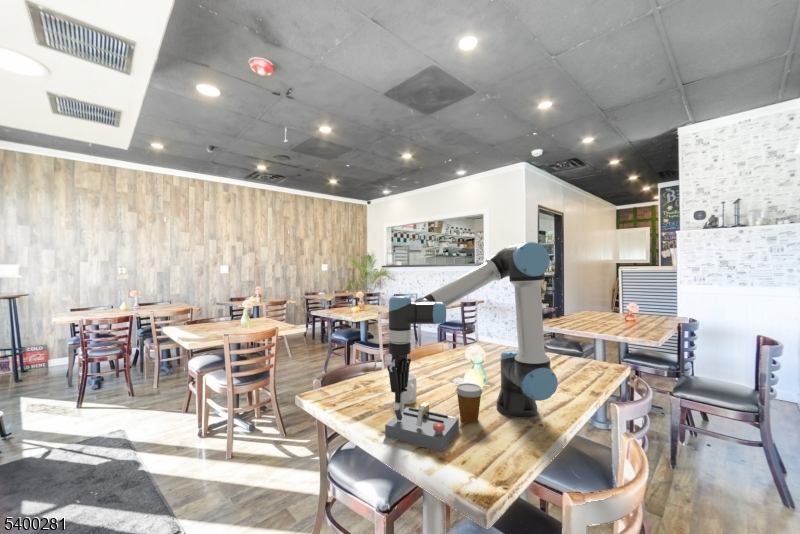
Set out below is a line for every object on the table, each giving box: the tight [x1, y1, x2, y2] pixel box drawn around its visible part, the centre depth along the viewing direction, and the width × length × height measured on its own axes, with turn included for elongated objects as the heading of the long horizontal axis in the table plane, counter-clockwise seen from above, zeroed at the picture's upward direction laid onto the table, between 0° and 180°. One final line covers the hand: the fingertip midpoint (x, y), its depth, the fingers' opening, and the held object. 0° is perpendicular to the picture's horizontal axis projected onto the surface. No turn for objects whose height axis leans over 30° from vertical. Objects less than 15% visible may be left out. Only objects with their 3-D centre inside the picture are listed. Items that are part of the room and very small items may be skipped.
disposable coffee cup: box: [455, 382, 483, 425], centre depth 122 cm, size 10×10×12 cm
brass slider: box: [421, 402, 430, 416], centre depth 117 cm, size 2×3×4 cm, turn 152°
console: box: [384, 406, 460, 453], centre depth 113 cm, size 20×16×5 cm
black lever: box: [392, 402, 402, 421], centre depth 112 cm, size 2×2×6 cm
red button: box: [433, 423, 445, 436], centre depth 104 cm, size 4×4×3 cm
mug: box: [404, 373, 417, 406], centre depth 139 cm, size 12×8×10 cm
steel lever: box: [416, 404, 425, 427], centre depth 109 cm, size 2×2×6 cm
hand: (399, 410), depth 113 cm, fingers closed
